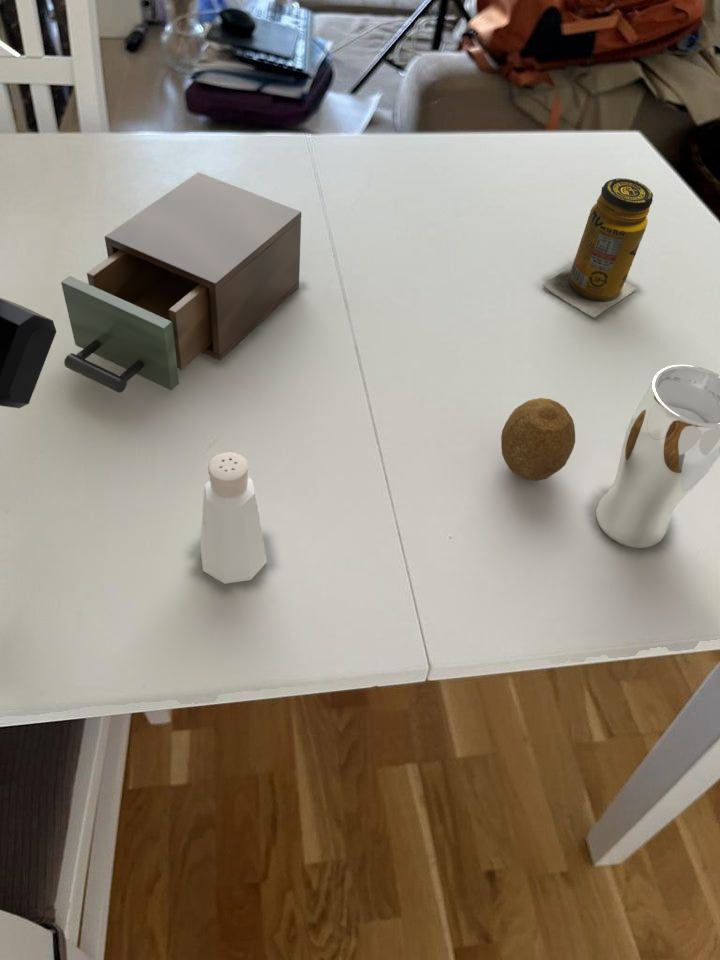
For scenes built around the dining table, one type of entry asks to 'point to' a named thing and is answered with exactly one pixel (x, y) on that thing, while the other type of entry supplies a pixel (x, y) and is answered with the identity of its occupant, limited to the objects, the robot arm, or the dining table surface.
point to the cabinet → (220, 251)
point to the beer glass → (663, 454)
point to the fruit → (538, 439)
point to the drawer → (136, 321)
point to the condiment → (606, 248)
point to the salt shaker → (231, 522)
